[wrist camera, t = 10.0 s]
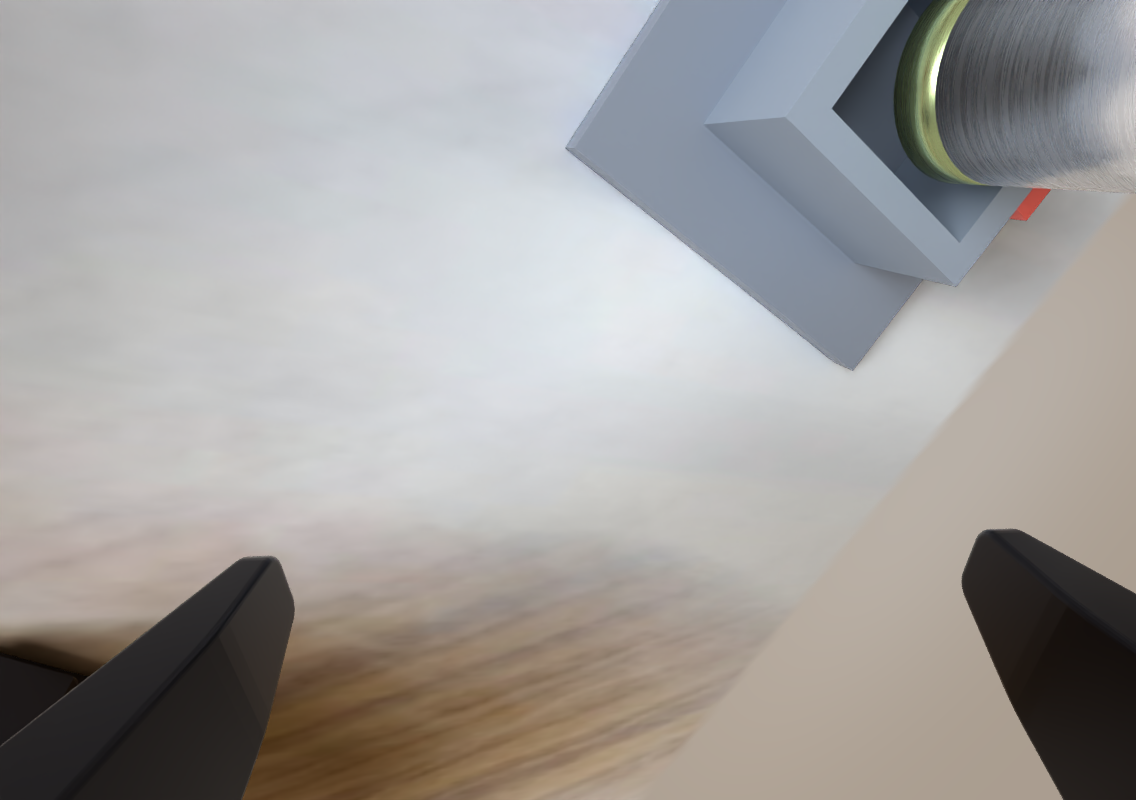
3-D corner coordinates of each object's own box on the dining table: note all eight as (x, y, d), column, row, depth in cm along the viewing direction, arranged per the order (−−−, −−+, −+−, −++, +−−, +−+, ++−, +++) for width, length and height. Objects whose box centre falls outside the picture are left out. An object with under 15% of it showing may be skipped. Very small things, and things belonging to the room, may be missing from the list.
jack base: (834, 362, 23) (945, 414, 18) (565, 148, 18) (626, 146, 13) (1066, 57, 21) (1255, 30, 16) (837, -274, 16) (1014, -442, 11)
